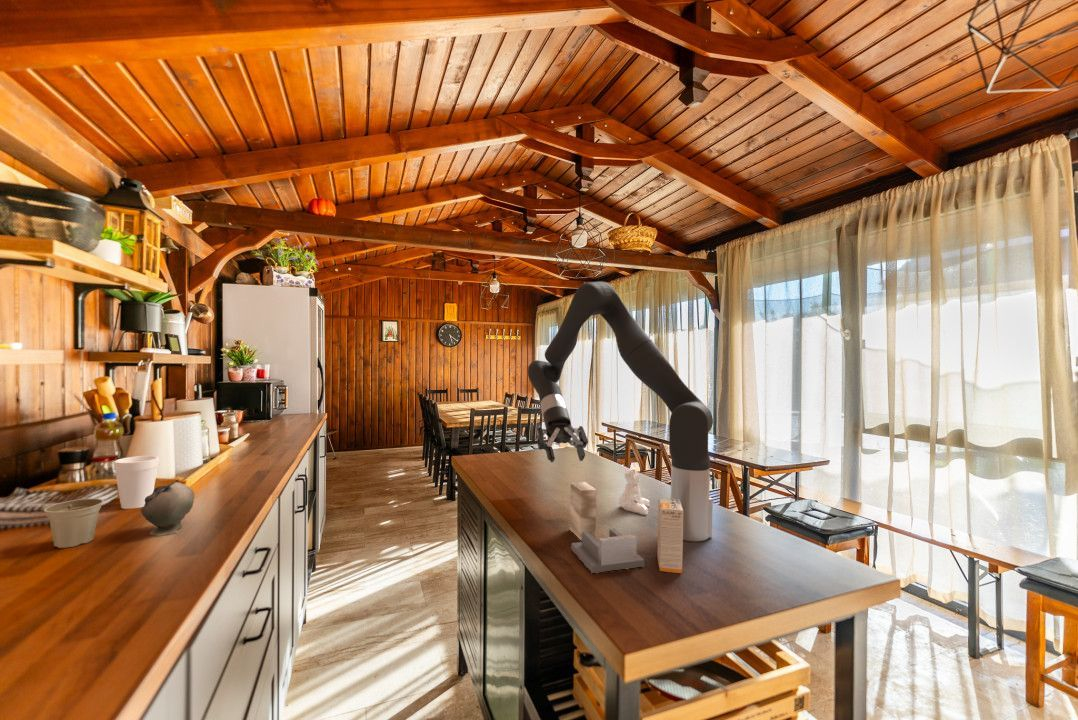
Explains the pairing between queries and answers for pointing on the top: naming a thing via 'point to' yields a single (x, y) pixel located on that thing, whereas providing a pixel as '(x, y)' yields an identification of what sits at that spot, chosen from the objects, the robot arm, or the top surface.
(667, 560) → the supplement box
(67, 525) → the flower pot
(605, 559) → the cradle
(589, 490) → the brown paper bag
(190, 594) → the top surface
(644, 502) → the sitting furry creature
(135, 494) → the foam cup
